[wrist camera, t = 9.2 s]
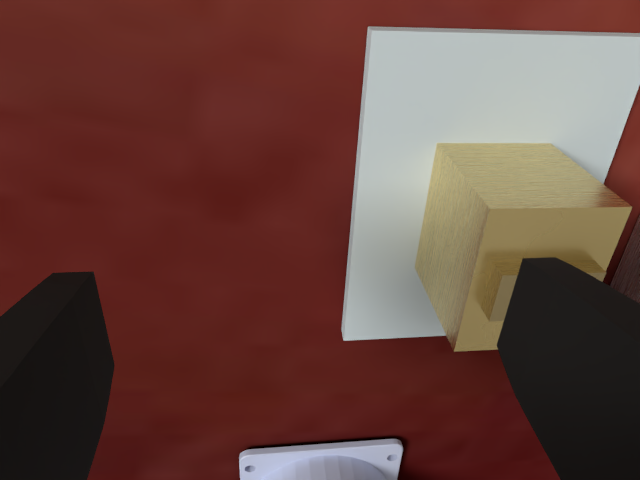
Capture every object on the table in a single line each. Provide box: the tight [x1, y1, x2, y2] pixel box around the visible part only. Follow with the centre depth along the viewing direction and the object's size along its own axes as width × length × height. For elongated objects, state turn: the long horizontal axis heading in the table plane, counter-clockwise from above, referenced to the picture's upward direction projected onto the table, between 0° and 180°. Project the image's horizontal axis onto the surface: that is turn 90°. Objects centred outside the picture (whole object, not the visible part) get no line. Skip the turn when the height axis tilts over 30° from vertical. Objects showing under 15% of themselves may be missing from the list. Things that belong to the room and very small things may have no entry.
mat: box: [341, 26, 640, 341], centre depth 19 cm, size 12×9×1 cm
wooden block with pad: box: [415, 143, 632, 352], centre depth 17 cm, size 5×4×5 cm
